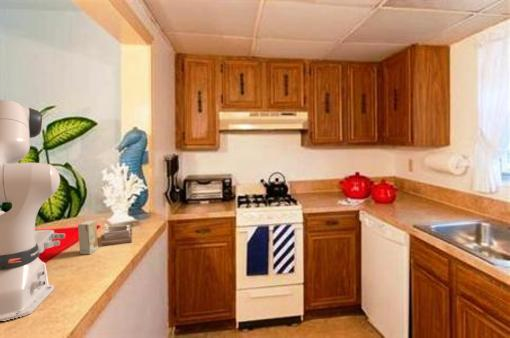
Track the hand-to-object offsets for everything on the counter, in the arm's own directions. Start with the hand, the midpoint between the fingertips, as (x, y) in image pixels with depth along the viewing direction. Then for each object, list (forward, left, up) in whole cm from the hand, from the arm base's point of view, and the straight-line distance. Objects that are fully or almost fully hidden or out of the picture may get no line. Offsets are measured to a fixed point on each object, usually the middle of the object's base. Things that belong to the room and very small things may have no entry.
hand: (62, 239), depth 123 cm
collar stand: (+14, -19, -7) cm, 25 cm away
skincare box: (0, -9, -7) cm, 11 cm away
